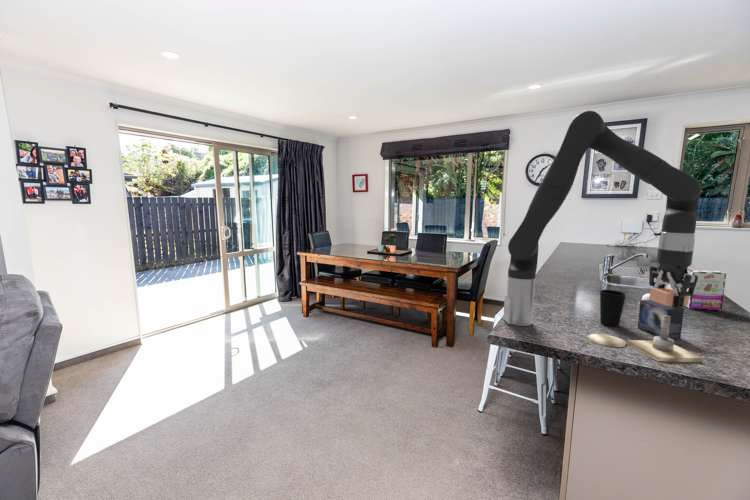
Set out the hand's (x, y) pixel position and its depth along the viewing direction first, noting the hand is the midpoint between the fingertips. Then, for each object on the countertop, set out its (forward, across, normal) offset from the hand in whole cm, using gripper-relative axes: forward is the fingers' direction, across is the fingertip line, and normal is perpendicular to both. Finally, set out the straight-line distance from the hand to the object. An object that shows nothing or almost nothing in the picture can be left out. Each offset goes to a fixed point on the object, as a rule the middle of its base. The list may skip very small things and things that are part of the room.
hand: (667, 305), depth 97 cm
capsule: (+15, -39, +25) cm, 49 cm away
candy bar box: (+14, -46, +52) cm, 71 cm away
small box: (+15, -16, +11) cm, 24 cm away
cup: (+15, -24, 0) cm, 28 cm away
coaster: (+15, -8, -11) cm, 20 cm away
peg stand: (+14, 0, 0) cm, 14 cm away
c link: (-1, 0, 0) cm, 1 cm away
